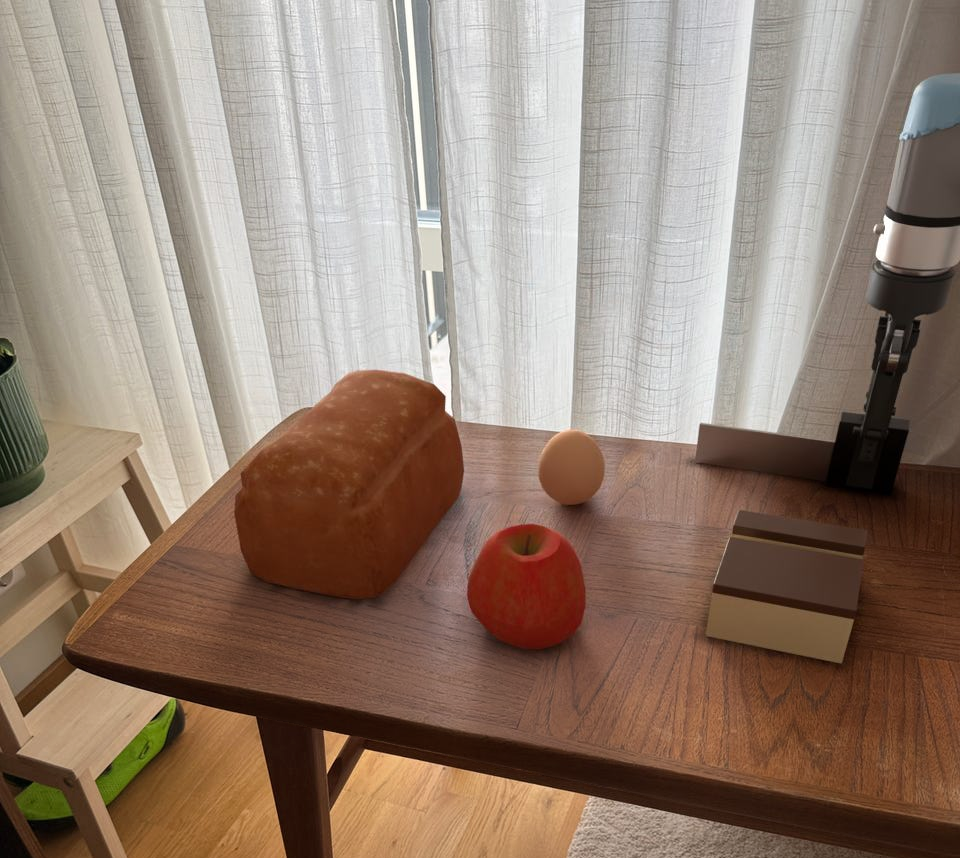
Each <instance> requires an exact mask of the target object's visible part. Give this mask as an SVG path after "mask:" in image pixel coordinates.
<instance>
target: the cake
mask: <svg viewBox="0 0 960 858" xmlns="http://www.w3.org/2000/svg"><path fill="white" fill-rule="evenodd" d="M863 566H864V558H862V559H859V558H853V557H847V556H841V555H835V554H829V553H823V552H818V551H812V550H806V549H800V548H794V547H788V546H782V545H776V544H770V543H765V542H759V541H753V540H747V539H741V538H735V537H732V536H729V537H728V540H727V543H726V546H725V548H724V552H723V555H722V557H721V561H720V563H719V567H718V570H717V573H716V576H715V579H714V581H713V584H712V591H711V597H710V605H709V612H708V617H707V618H708V619H707V625H706V631H705V637H709V638H714V639H718V640H724V641H729V642H733V643H739V644H742V645H743V644H744V645H749V646H753V647H758V648H763V649H768V650H772V651H778V652H782V653H787V654H793V655H797V656H802V657H807V658H811V659H817V660H820V661H821V660H822V661H827V662H831V663H836V664H843V661H844V657H845V653H846V650H847V647H848V642H849V640H850V636H851V632H852V629H853V625H854V622H855V618H856V614H857V610H858V604H859V596H860V589H861V581H862V574H863V569H864V567H863Z"/></svg>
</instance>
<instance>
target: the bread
mask: <svg viewBox="0 0 960 858" xmlns="http://www.w3.org/2000/svg"><path fill="white" fill-rule="evenodd" d="M446 400H447V395H445V394H444V393H443V391H441V390H440V388H438V386H437V385H435V383H432V382H429V381H426V380H424V379H422V378H418V377H416V376H414V375H411V374H408V373H405V372H399V371H389V370H383V369H360V370H358V369H357V370H355V371H351V372H348V373H347V374H345V375H344V376H343V377H342V378H341V379H339V380H338V381H337V382H336V383H335V384H334V386H333V387H332V388H331V390H330V391H329V392H328V393H327V394H326V395H325V396H324V397H322V398H321V399H320V400H319V401H318V402H317V403H316V404H315V405H314V406H313V407H312V408H310V409H308V411H307V412H306V413H304V415H302V416H301V417H300V418H299V419H298V420H296V421H295V422H294V423H293V424H291V425H290V426H289V427H288V428H287V429H285V430H284V431H283V433H282V434H281V435H279V437H278V438H276V439H275V440H274V441H272V442H270V443H269V444H267V445H265V446H264V447H262V448H261V449H260V450H259V451H258V452H257V453H256V455H255V456H254V457H253V458H252V459H251V461H249V462H248V464H247V465H246V466H245V467H244V468H243V469H242V470H241V472H240V481H241V488H240V489H239V490H238V491H237V493H235V497H234V512H233V515H234V519H235V520H234V521H235V525H236V531H237V537H238V542H239V547H240V552H241V554H242V557H243V559H244V561H245V564H246V566H247V568H248V570H249V572H250V574H251V575H253V576H255V577H257V578H259V579H261V580H262V581H264V582H266V583H271V584H274V585H278V586H282V587H288V588H292V589H296V590H300V591H305V592H308V593H315V594H319V595H324V596H331V597H336V598H344V599H352V600H359V599H360V600H361V599H372V598H378V597H379V596H380V595H381V594H382V593H384V592H385V591H386V590H388V589H389V588H390V587H391V586H392V585H394V584H395V583H396V581H398V579H399V578H400V576H401V575H402V573H403V572H404V571H405V569H406V568H407V567H408V565H410V563H411V562H412V560H413V559H414V558H415V557H416V555H417V554H418V553H419V551H420V550H421V549H422V548H423V546H424V545H425V543H426V542H427V541H428V539H429V538H430V537H431V535H432V533H433V532H434V530H435V529H436V528H437V526H438V525H439V524H440V521H441V520H442V519H444V517H445V515H446V514H447V513H448V512H449V510H450V509H451V508H452V507H453V506H454V504H455V503H456V502H457V500H458V499H459V497H460V494H461V491H462V488H463V482H464V474H465V466H464V465H465V464H464V455H463V447H462V443H461V438H460V434H459V429H458V425H457V421H456V418H454V417H453V416H452V415H451V414H450V413H449V412H448V411H447V410H446Z"/></svg>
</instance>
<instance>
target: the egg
mask: <svg viewBox="0 0 960 858" xmlns="http://www.w3.org/2000/svg"><path fill="white" fill-rule="evenodd" d="M537 464H538V466H537V476H538V480H539V483H540V485H541V488H542V490H543V491H544V492H545V493H546V495H547V496H549V498H550V499H552V500H554V501H555V502H557V503H559V504H561V505H566V506H576V505H580V504H582V503H584V502H586V501H588V500H590V499H591V498H592V497H593V496H594V495H595V494H597V492H598V491H599V490H600V488H601V486H602V484H603V481H604V478H605V472H606V471H605V467H606V466H605V465H606V464H605V458H604V456H603V453H602V451H601V449H600V447H599V444H598V443H597V442H596V441H595V439H594V438H593V437H591V436H590V435H589V434H588V433H586V432H584V431H581V430H580V429H565V430H563V431H560V432H557V434H555V435H553V436H552V437H551V438H550V439H549V441H548V442H547V443H546V445H545V446H544V448H543V450H542V452H541V453H540V456H539V460H538V463H537Z"/></svg>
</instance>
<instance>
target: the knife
mask: <svg viewBox="0 0 960 858" xmlns="http://www.w3.org/2000/svg"><path fill="white" fill-rule="evenodd" d="M864 416H865V413H855V412H848V411H847V412H846V411H841V413H840V418H839V422H838V426H837V431H836V435H835V438H834V439H827V438H820V437H819V438H818V437H810V436H803V435H797V434H789V433H781V432H774V431H766V430H759V429H751V428H745V427H736V426H728V425H719V424H714V423H707V422H699V424H698V425H699V426H698V434H697V442H696V450H695V459H694V462H695V463H698V464H703V465H704V464H705V465H712V466H718V467H725V468H732V469H739V470H746V471H752V472H759V473H765V474H773V475H780V476H787V477H792V478H799V479H807V480H813V481H821V482H825V487H830V488H831V487H832V488H837V489H844V490H851V491H858V492H864V493H872V494H876V495H877V494H878V495H883V496H891V495H892V493H893V489H894V486H895V481H896V478H897V474H898V471H899V468H900V464H901V462H902V461H901V459H902V457H903V453H904V451H905V446H906V443H907V439H908V436H909V433H910V425H911V419H905V418H904V419H903V418H897V417H891V420H890V424H889V428H888V436H887V437H886V439H885V441H884V445H883V449H882V452H881V456H880V460H879V464H878V467H877V471H876V475H875V479H874V482H873V486H872V489H867V488H860V487H853V486H847V485H846V483H847V479H848V474H849V470H850V466H851V462H852V458H853V454H854V450H855V446H856V442H857V438H858V434H853V430H854V426H855V427H861V426H862V424H863V420H864Z"/></svg>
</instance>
